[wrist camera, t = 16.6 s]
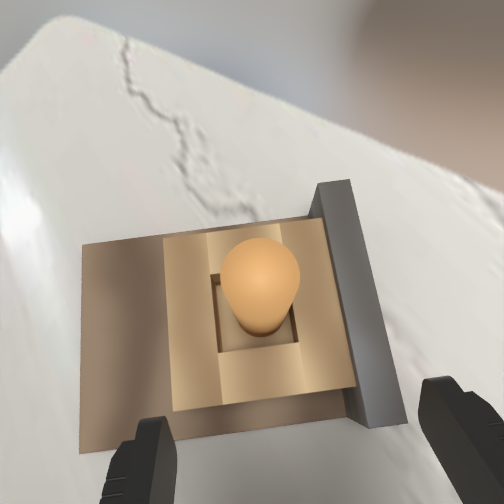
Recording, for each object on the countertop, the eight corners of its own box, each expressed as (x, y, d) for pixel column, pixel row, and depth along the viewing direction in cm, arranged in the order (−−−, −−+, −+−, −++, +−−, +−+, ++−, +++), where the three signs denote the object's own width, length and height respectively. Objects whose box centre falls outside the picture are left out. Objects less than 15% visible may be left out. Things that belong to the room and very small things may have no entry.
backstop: (86, 450, 24) (31, 476, 18) (88, 249, 28) (44, 218, 22) (388, 408, 24) (427, 420, 19) (344, 215, 29) (365, 176, 23)
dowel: (238, 340, 24) (224, 320, 14) (234, 291, 25) (216, 242, 15) (288, 334, 24) (305, 310, 14) (281, 286, 25) (293, 233, 15)
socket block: (187, 405, 23) (173, 411, 20) (177, 257, 27) (162, 238, 23) (341, 383, 24) (356, 386, 20) (313, 239, 27) (321, 217, 23)
